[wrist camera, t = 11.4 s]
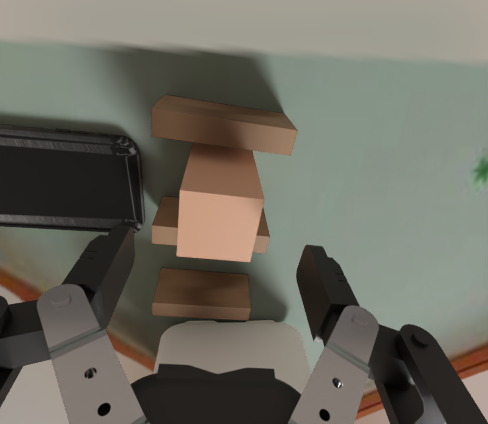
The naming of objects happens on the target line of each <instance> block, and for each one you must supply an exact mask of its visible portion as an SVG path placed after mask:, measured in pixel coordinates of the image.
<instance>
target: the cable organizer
mask: <svg viewBox="0 0 488 424" xmlns="http://www.w3.org/2000/svg"><path fill="white" fill-rule="evenodd" d="M159 364H180V365H190V366H194V367H197V368H200V369H203V370H206V371H210V372H213V373H216V374H220V373H225V372H229V371H234V370H238V369H242V368H269V369H274V372H275V378H276V379H279V380H281V381H283V382H285V383H287V384H289V385H290V386H292V387H293V388H294V389H296V390H297V391H298V392H299V393H300V394H302V392H303V390H304V388H305V386H306V384H307V382H308V380H309V378H310V376H311V370H310V366H309V362H308V358H307V355H306V351H305V347H304V343H303V339H302V336H301V334H300V332H299V331H298V330H297V329H296V328H294V327H293V326H291V325H289V324H286V323H280V322H275V321H274V320H255V321H246V322H237V323H217V322H216V321H186V322H185V323H180V324H176V325H174V326H172V327H170V328H168V329H167V330H166V331H165V332H164V333H163V334H162V336H161V339H160V344H159V349H158V354H157V358H156V363H155V368H154V373H153V374H155V373H157V372H158V367H159Z"/></svg>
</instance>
